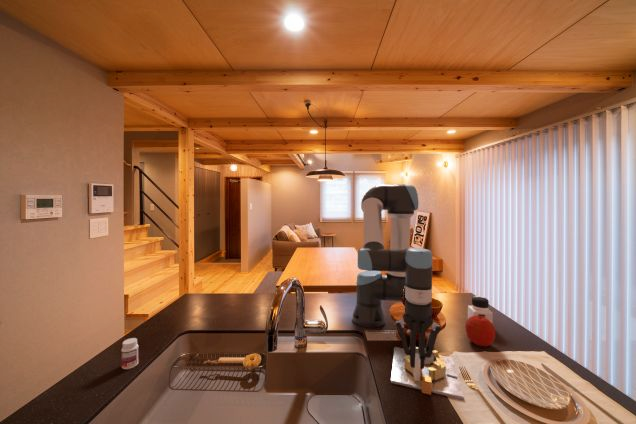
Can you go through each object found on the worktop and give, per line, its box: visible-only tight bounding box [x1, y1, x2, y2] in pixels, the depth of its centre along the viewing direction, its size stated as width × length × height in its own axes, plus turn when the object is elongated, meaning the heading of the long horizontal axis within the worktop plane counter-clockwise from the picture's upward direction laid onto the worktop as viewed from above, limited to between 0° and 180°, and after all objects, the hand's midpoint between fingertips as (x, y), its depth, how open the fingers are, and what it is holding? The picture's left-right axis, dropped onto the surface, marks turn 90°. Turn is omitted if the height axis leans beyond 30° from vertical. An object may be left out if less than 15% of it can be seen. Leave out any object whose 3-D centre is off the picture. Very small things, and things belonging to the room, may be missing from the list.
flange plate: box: [390, 346, 465, 401], centre depth 85 cm, size 20×20×7 cm
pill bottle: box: [120, 337, 140, 370], centre depth 87 cm, size 5×5×8 cm
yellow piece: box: [404, 345, 446, 396], centre depth 82 cm, size 19×12×4 cm, turn 160°
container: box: [467, 295, 494, 325], centre depth 118 cm, size 8×8×13 cm
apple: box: [464, 315, 496, 347], centre depth 102 cm, size 10×10×12 cm
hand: (416, 377), depth 77 cm, fingers closed
